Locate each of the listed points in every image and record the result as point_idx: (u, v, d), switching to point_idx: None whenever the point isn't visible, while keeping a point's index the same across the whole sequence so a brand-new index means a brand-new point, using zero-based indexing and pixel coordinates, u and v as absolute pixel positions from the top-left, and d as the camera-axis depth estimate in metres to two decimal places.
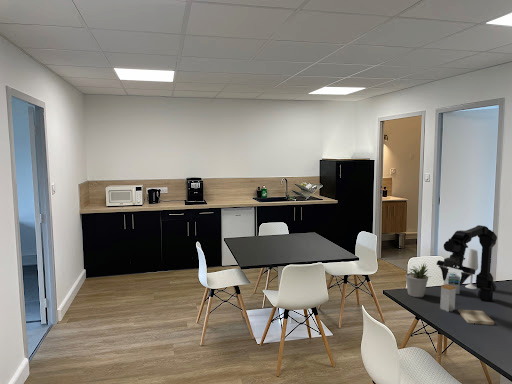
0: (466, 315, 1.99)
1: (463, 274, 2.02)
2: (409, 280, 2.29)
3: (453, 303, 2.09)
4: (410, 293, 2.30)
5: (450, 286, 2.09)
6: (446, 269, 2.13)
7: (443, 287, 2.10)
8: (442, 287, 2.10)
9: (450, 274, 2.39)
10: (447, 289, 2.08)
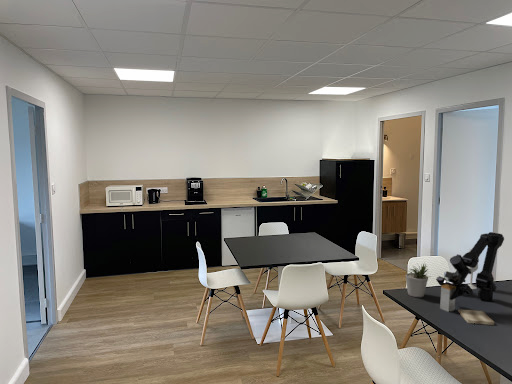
0: (466, 315, 1.99)
1: (457, 289, 2.06)
2: (409, 280, 2.29)
3: (453, 303, 2.09)
4: (410, 293, 2.30)
5: (450, 286, 2.09)
6: None
7: (443, 287, 2.10)
8: (442, 287, 2.10)
9: None
10: (447, 289, 2.08)
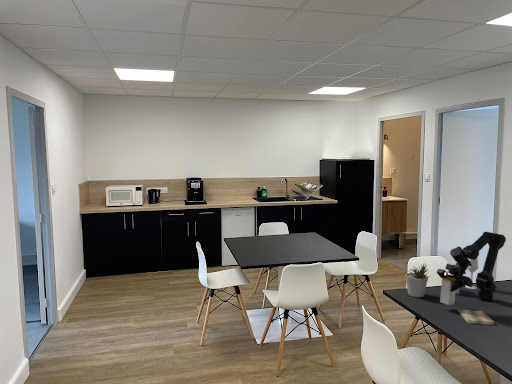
0: (466, 315, 1.99)
1: (457, 281, 2.06)
2: (409, 280, 2.29)
3: (453, 297, 2.09)
4: (410, 293, 2.30)
5: (451, 279, 2.09)
6: None
7: (444, 280, 2.10)
8: (443, 280, 2.10)
9: None
10: (448, 282, 2.07)
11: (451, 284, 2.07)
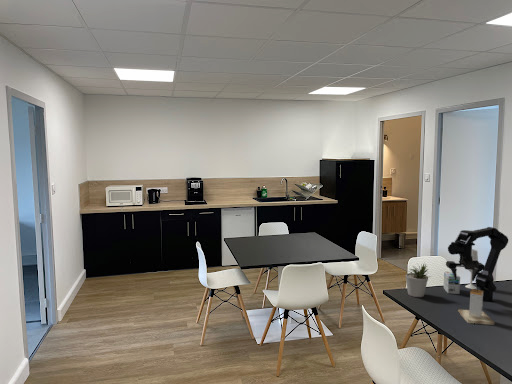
0: (466, 315, 1.99)
1: (478, 271, 2.16)
2: (409, 280, 2.29)
3: (481, 309, 1.98)
4: (410, 293, 2.30)
5: (479, 291, 1.97)
6: None
7: (473, 293, 1.96)
8: (471, 293, 1.97)
9: (450, 274, 2.39)
10: (478, 295, 1.95)
11: (481, 296, 1.95)
